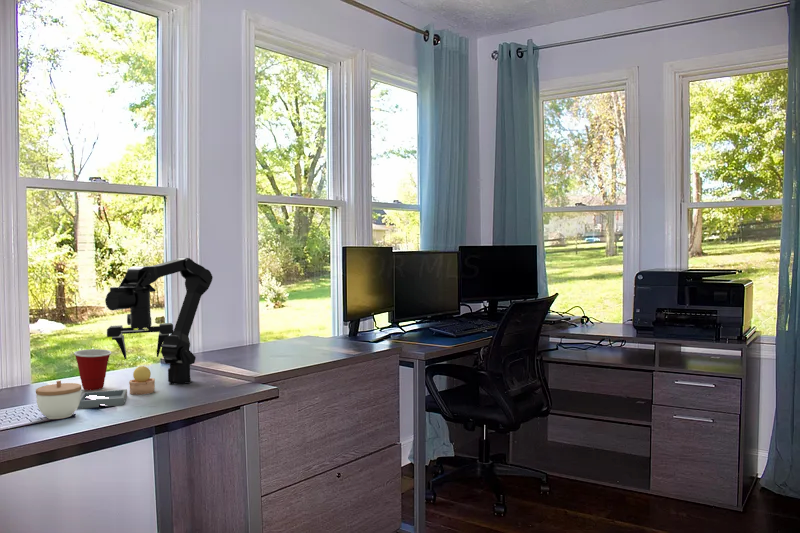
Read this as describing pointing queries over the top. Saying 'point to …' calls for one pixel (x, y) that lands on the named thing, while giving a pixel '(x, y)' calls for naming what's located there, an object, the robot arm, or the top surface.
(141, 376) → the ball
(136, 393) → the bowl
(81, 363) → the plastic cup
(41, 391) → the lidded jar
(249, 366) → the top surface
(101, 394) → the tray
